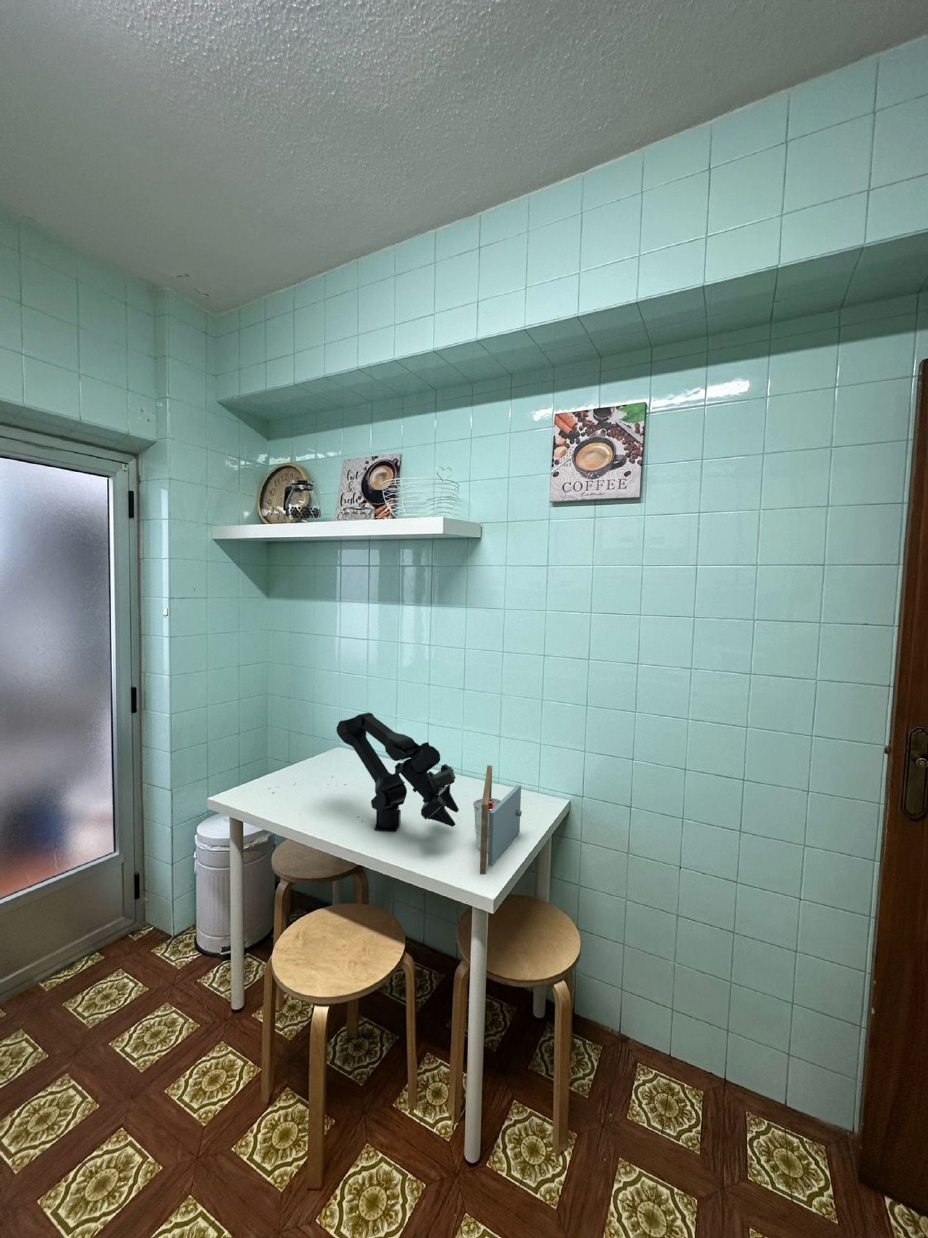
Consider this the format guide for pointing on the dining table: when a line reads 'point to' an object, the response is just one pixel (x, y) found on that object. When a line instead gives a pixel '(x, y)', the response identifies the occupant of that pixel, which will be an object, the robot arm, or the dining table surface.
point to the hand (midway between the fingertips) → (456, 818)
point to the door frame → (485, 819)
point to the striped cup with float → (478, 814)
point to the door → (504, 824)
